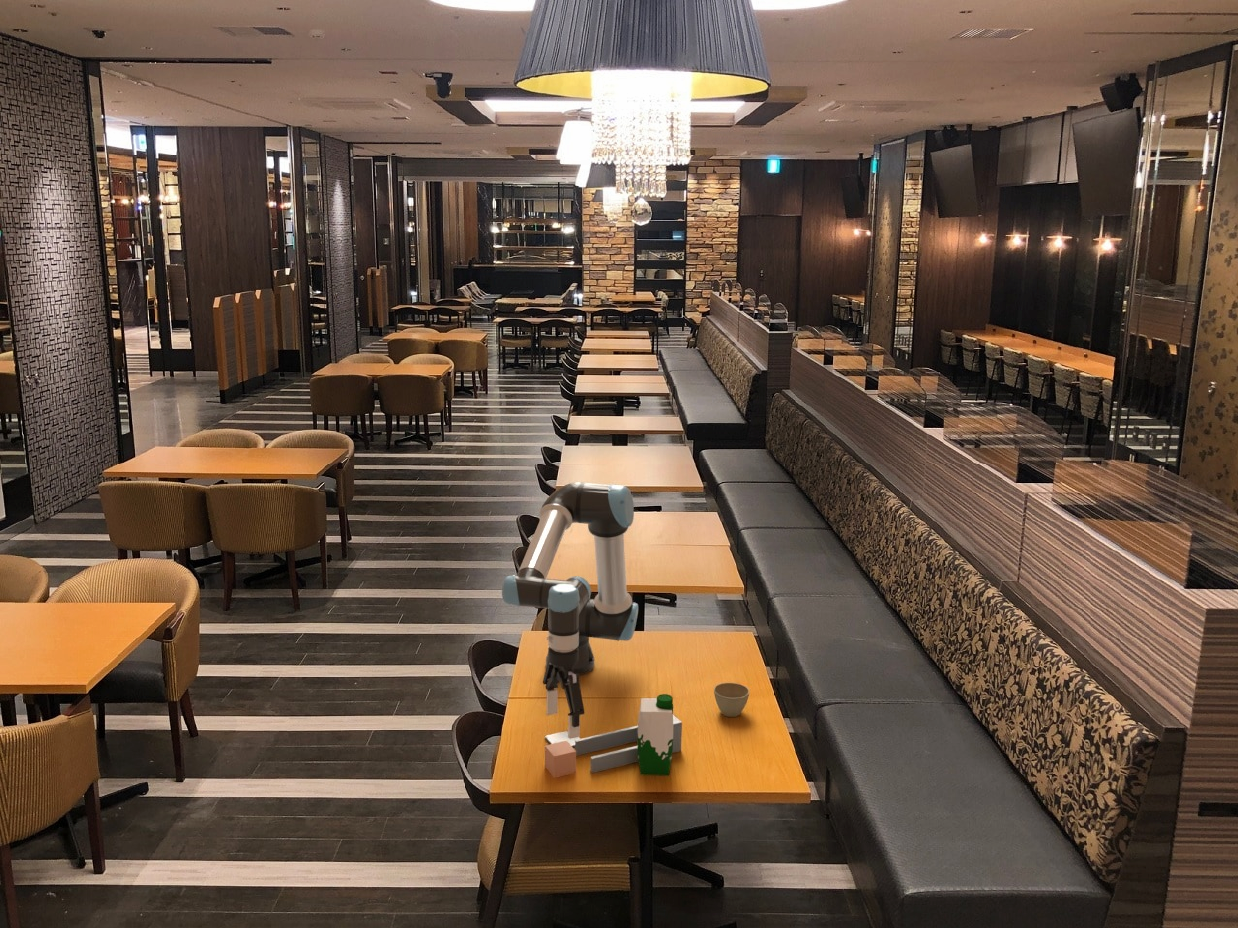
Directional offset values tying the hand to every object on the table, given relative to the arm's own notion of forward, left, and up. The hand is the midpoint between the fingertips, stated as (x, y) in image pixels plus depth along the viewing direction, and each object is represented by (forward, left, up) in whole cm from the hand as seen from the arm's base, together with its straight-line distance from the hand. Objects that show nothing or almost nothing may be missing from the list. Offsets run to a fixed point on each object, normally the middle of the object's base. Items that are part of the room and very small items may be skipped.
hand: (562, 725), depth 263 cm
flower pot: (-7, +55, -13) cm, 57 cm away
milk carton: (+9, +22, -13) cm, 27 cm away
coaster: (-12, +6, -12) cm, 18 cm away
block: (0, -1, -12) cm, 12 cm away
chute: (0, +19, -12) cm, 23 cm away
